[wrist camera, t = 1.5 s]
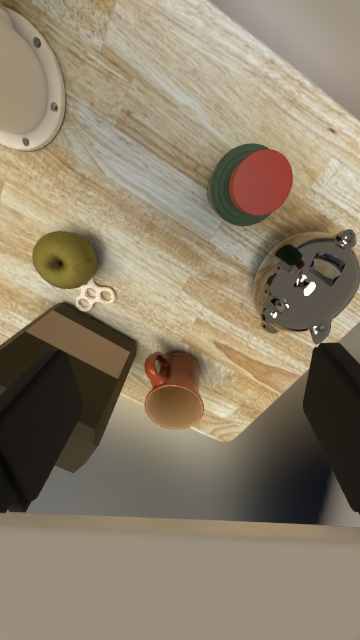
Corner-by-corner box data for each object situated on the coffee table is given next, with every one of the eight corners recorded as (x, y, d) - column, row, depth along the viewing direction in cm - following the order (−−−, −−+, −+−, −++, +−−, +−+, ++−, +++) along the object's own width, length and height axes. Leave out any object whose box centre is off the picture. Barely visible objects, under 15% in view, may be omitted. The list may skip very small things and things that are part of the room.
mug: (211, 374, 46) (214, 418, 37) (171, 391, 48) (164, 436, 39) (178, 323, 42) (172, 358, 33) (136, 344, 44) (119, 382, 35)
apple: (101, 286, 39) (82, 300, 33) (52, 273, 39) (22, 284, 33) (108, 237, 37) (88, 242, 30) (54, 223, 36) (22, 224, 30)
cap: (227, 158, 18) (231, 153, 16) (282, 150, 18) (295, 143, 16) (229, 216, 20) (233, 218, 18) (279, 210, 20) (290, 211, 17)
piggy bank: (228, 301, 40) (237, 338, 29) (281, 205, 33) (317, 208, 23) (289, 327, 41) (319, 371, 30) (352, 239, 34) (417, 258, 24)
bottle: (122, 373, 47) (53, 529, 25) (43, 331, 45) (-116, 466, 22) (142, 343, 44) (83, 493, 22) (58, 296, 41) (-111, 413, 19)
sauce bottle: (205, 166, 32) (210, 135, 16) (257, 158, 31) (315, 118, 15) (208, 219, 34) (216, 238, 19) (256, 213, 34) (305, 228, 18)
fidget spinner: (75, 267, 39) (73, 269, 38) (117, 275, 39) (115, 277, 38) (76, 308, 42) (74, 310, 41) (114, 315, 42) (113, 317, 41)
